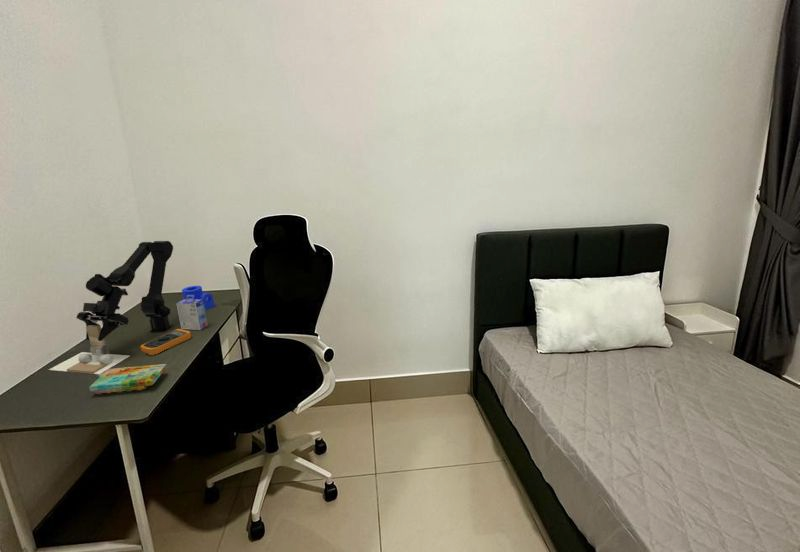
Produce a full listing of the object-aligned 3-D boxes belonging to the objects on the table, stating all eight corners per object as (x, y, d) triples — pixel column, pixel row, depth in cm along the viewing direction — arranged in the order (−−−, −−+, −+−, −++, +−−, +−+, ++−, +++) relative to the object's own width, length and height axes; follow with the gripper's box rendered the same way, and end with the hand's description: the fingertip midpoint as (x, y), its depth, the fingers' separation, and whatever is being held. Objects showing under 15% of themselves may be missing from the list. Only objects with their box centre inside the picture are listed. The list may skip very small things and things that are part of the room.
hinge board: (82, 354, 183) (79, 344, 181) (130, 358, 177) (128, 347, 176) (49, 372, 170) (45, 361, 168) (100, 376, 164) (96, 365, 163)
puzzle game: (106, 367, 161) (166, 361, 162) (110, 379, 162) (168, 373, 164) (88, 384, 150) (152, 378, 151) (91, 397, 151) (155, 391, 153)
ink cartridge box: (208, 325, 204) (202, 294, 199) (201, 330, 198) (194, 298, 194) (188, 324, 206) (182, 293, 201) (180, 329, 201) (173, 298, 196)
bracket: (181, 304, 233) (178, 289, 231) (198, 298, 239) (195, 284, 237) (201, 311, 221) (198, 296, 218) (218, 305, 227) (216, 290, 225)
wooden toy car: (99, 351, 176) (91, 324, 173) (109, 351, 175) (102, 324, 171) (91, 355, 173) (83, 327, 170) (102, 355, 172) (94, 328, 168)
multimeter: (139, 353, 181) (137, 345, 180) (179, 335, 196) (178, 327, 195) (153, 357, 177) (151, 349, 176) (193, 338, 192) (191, 330, 191)
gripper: (73, 291, 173) (54, 331, 166) (114, 293, 168) (96, 333, 161) (97, 304, 183) (79, 341, 176) (136, 305, 178) (120, 344, 171)
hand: (93, 340), depth 171 cm, fingers closed on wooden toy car, 5 cm apart
